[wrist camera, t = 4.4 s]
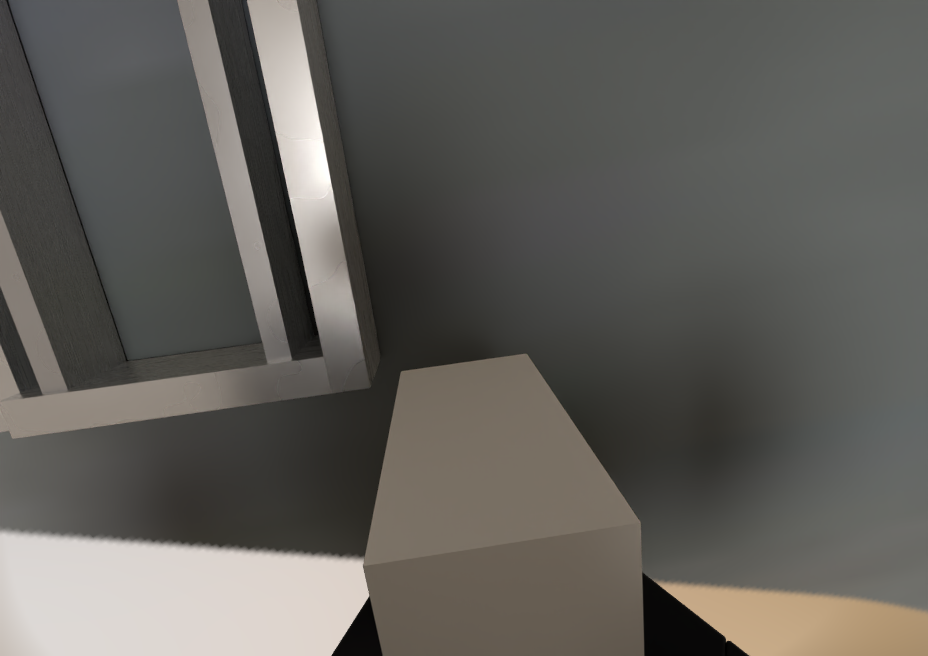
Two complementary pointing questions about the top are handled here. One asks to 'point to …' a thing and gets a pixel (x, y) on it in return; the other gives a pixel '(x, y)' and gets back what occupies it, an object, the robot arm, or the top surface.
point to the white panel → (498, 524)
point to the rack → (255, 224)
